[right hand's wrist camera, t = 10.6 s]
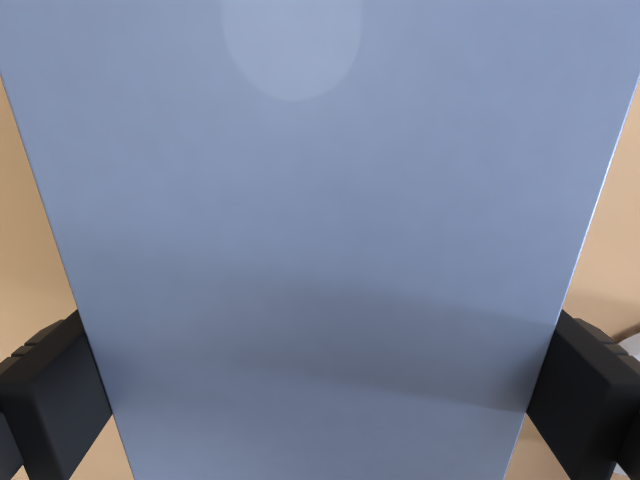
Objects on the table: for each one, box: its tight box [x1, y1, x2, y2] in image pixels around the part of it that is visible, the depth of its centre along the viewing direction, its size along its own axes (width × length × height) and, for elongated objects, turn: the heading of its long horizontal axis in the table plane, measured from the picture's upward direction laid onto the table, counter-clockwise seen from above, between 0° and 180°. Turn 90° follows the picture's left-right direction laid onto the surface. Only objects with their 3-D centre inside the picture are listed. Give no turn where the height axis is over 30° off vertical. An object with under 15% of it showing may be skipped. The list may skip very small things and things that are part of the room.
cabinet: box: [0, 0, 640, 480], centre depth 10 cm, size 20×11×9 cm, turn 0°
